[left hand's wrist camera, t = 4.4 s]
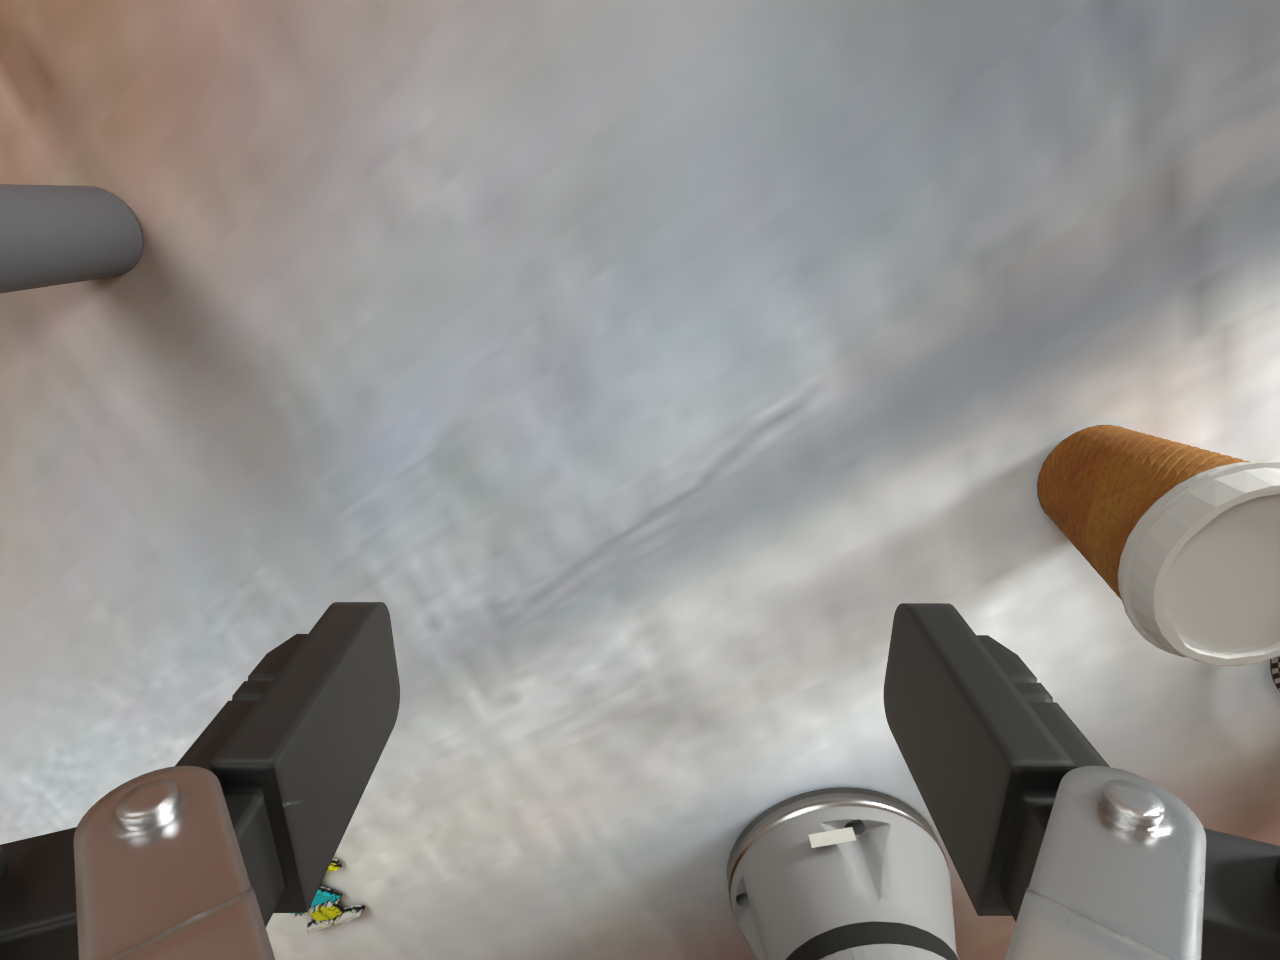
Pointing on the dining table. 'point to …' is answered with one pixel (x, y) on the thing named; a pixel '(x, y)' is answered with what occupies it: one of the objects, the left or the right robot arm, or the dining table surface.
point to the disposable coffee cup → (1175, 538)
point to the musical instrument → (1275, 671)
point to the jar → (64, 236)
